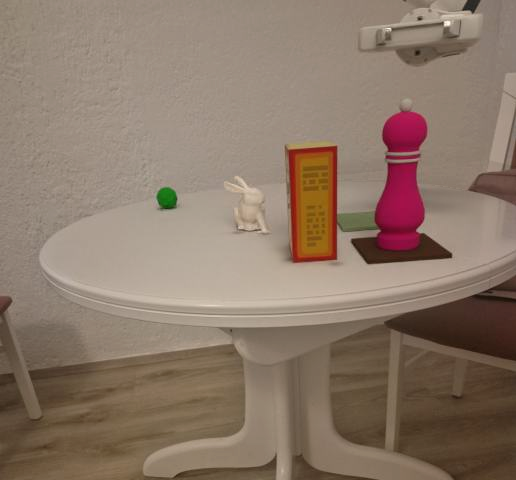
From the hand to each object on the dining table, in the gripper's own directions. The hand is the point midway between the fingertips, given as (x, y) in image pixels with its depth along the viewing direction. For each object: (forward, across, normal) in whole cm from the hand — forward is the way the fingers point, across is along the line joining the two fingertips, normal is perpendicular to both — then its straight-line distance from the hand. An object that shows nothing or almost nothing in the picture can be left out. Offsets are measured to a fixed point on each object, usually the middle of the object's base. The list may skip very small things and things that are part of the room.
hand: (416, 30), depth 77 cm
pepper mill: (+20, 0, +30) cm, 36 cm away
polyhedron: (-11, -55, +30) cm, 64 cm away
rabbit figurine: (+8, -28, +30) cm, 42 cm away
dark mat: (+20, 0, +30) cm, 36 cm away
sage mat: (+2, -6, +30) cm, 31 cm away
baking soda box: (+23, -13, +30) cm, 40 cm away
